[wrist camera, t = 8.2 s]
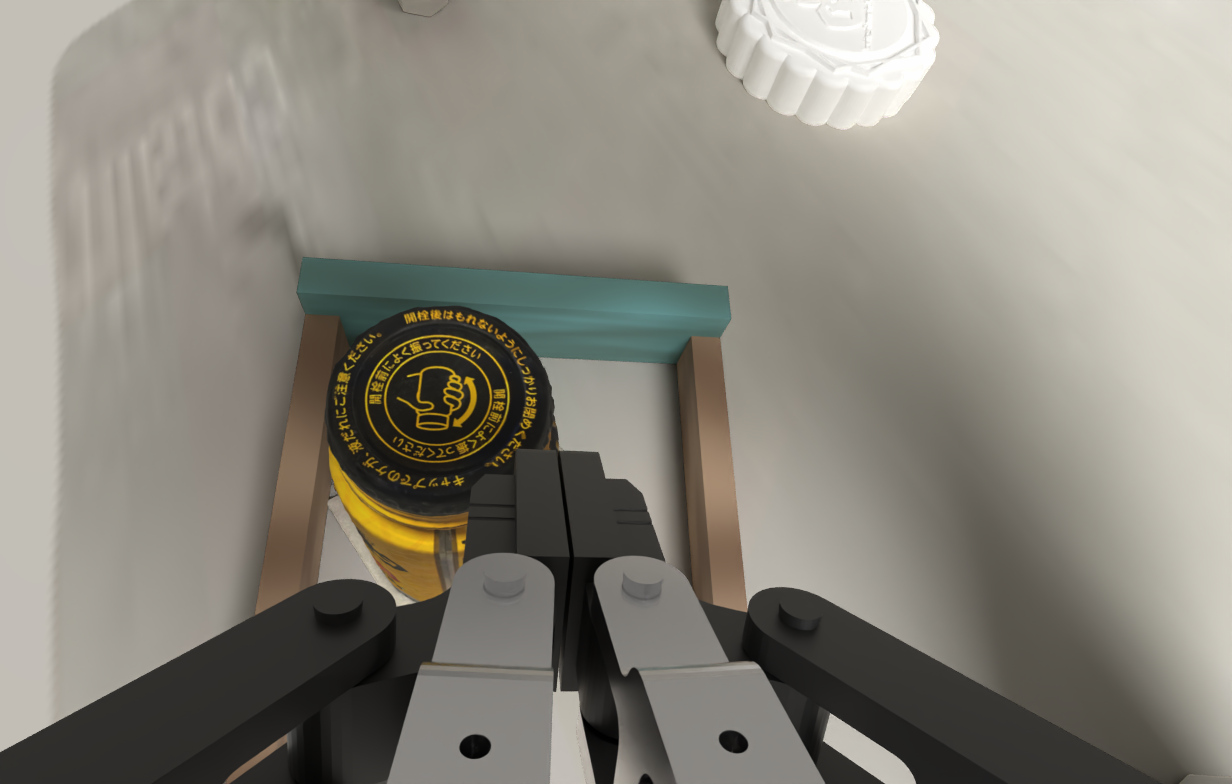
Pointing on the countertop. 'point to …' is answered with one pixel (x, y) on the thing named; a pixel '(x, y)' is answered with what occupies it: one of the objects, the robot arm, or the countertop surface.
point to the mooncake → (829, 55)
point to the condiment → (428, 436)
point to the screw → (422, 6)
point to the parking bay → (553, 327)
